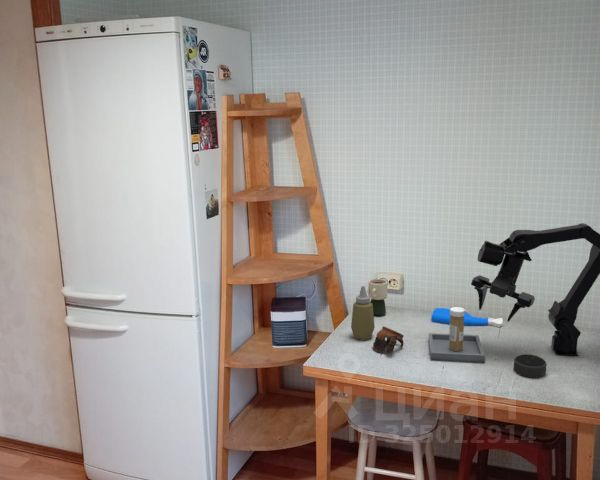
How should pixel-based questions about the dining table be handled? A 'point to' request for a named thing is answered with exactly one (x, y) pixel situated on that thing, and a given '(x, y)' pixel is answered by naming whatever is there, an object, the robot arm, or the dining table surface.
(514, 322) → the dining table surface
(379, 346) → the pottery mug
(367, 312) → the squeeze bottle
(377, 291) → the character mug
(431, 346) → the tray
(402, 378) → the dining table surface
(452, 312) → the sprinkles bottle
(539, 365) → the smart speaker
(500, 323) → the spray bottle
